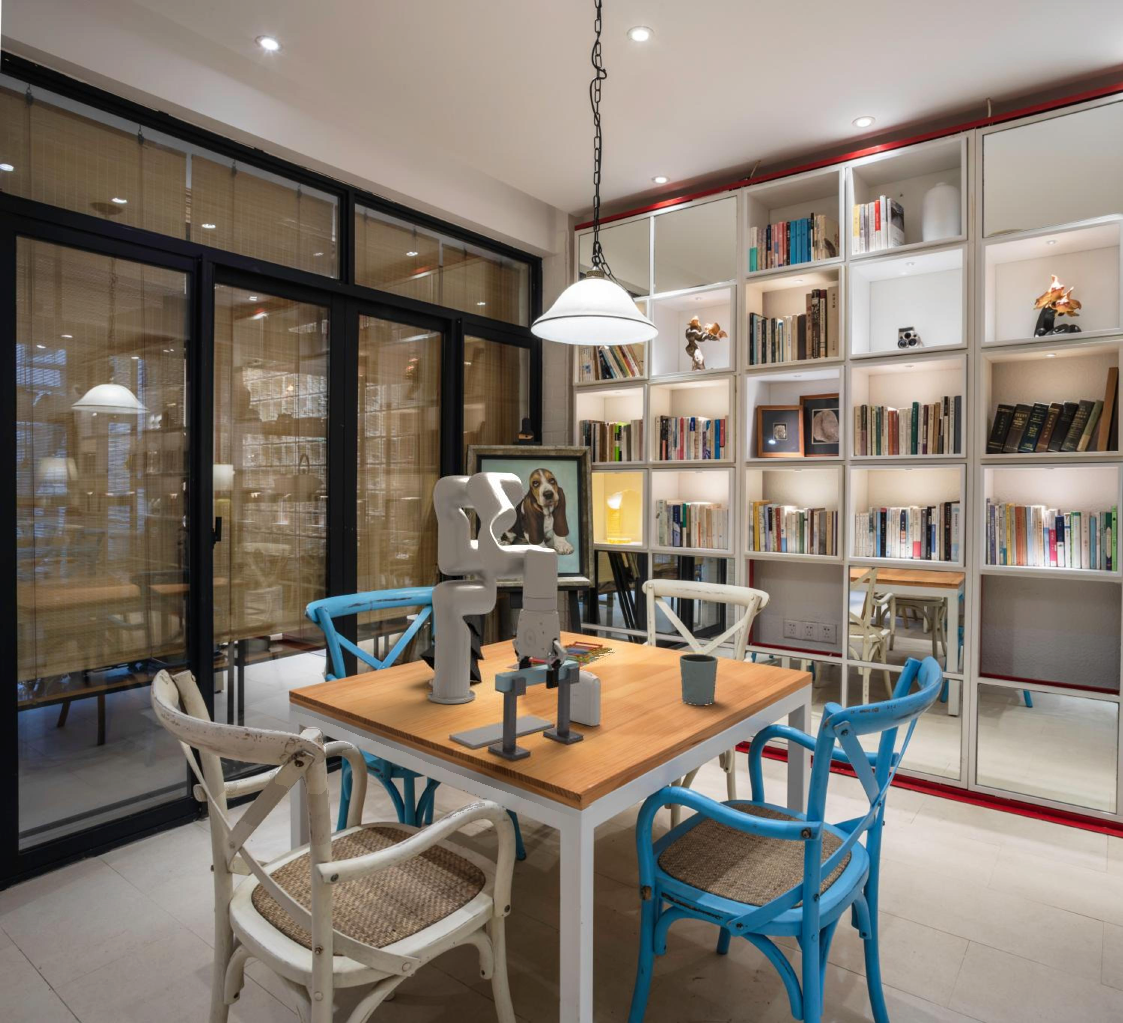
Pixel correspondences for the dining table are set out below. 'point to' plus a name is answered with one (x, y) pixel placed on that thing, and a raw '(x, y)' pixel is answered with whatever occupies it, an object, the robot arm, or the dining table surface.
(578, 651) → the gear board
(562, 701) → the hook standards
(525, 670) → the rail
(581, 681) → the photo printer
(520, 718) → the felt mat
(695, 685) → the grey green cup
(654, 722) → the dining table surface
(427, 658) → the decorative tree
